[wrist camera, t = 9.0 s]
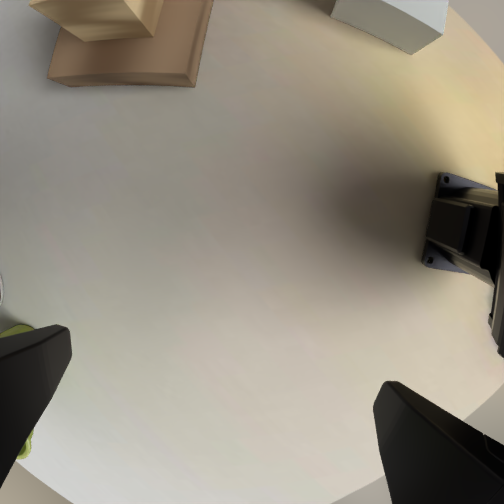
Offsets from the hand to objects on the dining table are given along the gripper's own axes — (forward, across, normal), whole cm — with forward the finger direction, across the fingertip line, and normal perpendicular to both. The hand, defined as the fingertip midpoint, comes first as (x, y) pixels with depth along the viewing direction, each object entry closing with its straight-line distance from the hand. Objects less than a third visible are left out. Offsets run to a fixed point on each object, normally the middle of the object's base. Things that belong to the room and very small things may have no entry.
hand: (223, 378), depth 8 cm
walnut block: (+12, +9, -14) cm, 21 cm away
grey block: (+10, -3, -19) cm, 22 cm away
